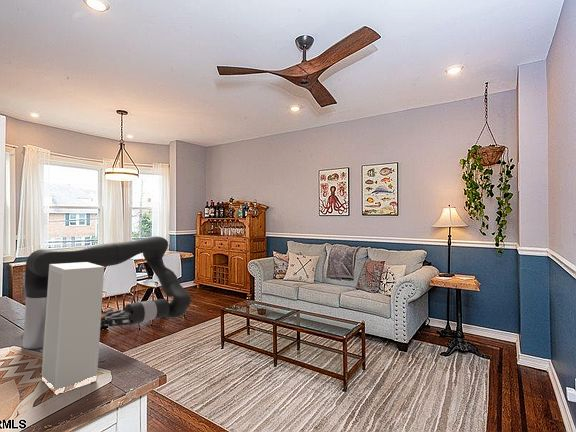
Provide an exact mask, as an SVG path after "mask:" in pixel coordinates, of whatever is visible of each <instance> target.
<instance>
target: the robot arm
mask: <svg viewBox="0 0 576 432" xmlns="http://www.w3.org/2000/svg"><path fill="white" fill-rule="evenodd" d="M168 247H169V242H168V240H167V239H166V238H165V237H162V236H157V235H156V236H148V237H145V238H144V237H143V238H140V239H135V240H134V239H133V240H127V241H120V242H108V243H101V244H96V245H92V246H88V247H86V248H82V249H78V250H59V251H57V250H50V249H46V248H41V249H37V250H34V251H33V252H32V253H30V254H28V256H27V258H26V261H25V269H24V287H25V293H26V294H25V308H24V320H23V334H22V335H23V336H22V348H23V349H28V350H34V349H35V350H36V349H42V348H43V347H44V333H45V318H46V304H47V290H48V276H49V264H63V263H80V262H89V263H92V264H96V265H100V266H103V267H104V268H105V267H111V266H116V265H119V264H122V263H124V262H126V261H129V260H131V259H132V258H134V257H136V256H138V255H140V254H142V256H143V258H144V260H145V261H146V262H147V264H148V265H149V267H150V269H152V271H153V272H154V274H155V276H156V277H157V279H158V282H159V283H160V285H161V288H162V290H163V292H164V295H165V296H167V297H168V298H170V297H171V298H172V297H173V298H172V300H171V301H170V302H169V301H168V300H167V299H166V298H159V299H153V300H145V301H138V302H132V303H127V304H126V305H125V307H124V308H123V309H116V310H114V309H112V308H111V309H107V310H103V311H101V313H102V314H104V315H105V316H106V317H105V318H101V324H100V327H103V326H105V327H106V326H108V327H118V326H133V325H137V324H141V323H142V324H143V323H146V322H149V321H151V320H155V319H161V318H173V319H174V318H179V317H182V315H184V314H185V313H186V311H187V309H188V308H189V306H190V305H191V303H192V298H191V295H190V294H189V292H188V291H187V290H186V289H185V288H184V287H183V286H182V285H181V282H180V280H179V279H178V277H177V275H176V273H175V272H174V271H173V270H171V269H170V268H169V267H166V265H165V263H164V260H163V257H164V256H165V254H166V251H167V250H168Z"/></svg>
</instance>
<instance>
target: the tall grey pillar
mask: <svg viewBox="0 0 576 432" xmlns="http://www.w3.org/2000/svg"><path fill="white" fill-rule="evenodd" d="M104 274H105V267H103V266H100V265H96V264H92V263H89V262H80V263H63V264H49V276H48V290H47V304H46V318H45V333H44V347H42V348H43V354H42V363H41V364H42V365H41V375H42V376H43V377H44V378H45V379H46V380H47V381H48V382H49V383H51V384H52V385H53V387H54V388H55V389H56V390H57V389H59V388H63V387H67V386H70V385H73V384H75V383H78V382H81V381H83V380H85V379H87V378H90V377H93V376H96V375H97V376H98V371H99V370H98V367H99V366H98V365H99V354H100V353H99V351H100V337H101V326H100V324H101V312H102V309H103V308H102V305H103V291H104V277H105V276H104Z"/></svg>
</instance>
